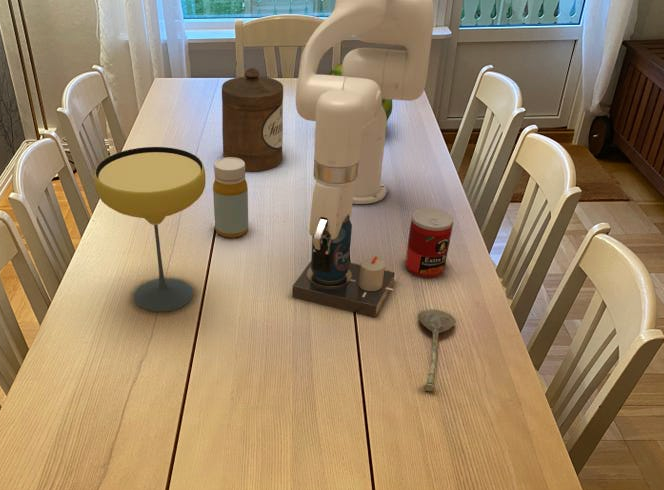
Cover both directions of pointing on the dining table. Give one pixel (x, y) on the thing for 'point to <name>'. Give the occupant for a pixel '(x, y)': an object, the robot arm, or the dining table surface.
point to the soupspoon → (435, 335)
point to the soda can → (336, 254)
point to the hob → (345, 293)
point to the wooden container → (253, 120)
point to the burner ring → (336, 284)
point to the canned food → (428, 241)
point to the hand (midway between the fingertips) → (330, 257)
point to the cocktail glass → (153, 205)
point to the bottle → (230, 197)
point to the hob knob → (371, 274)
